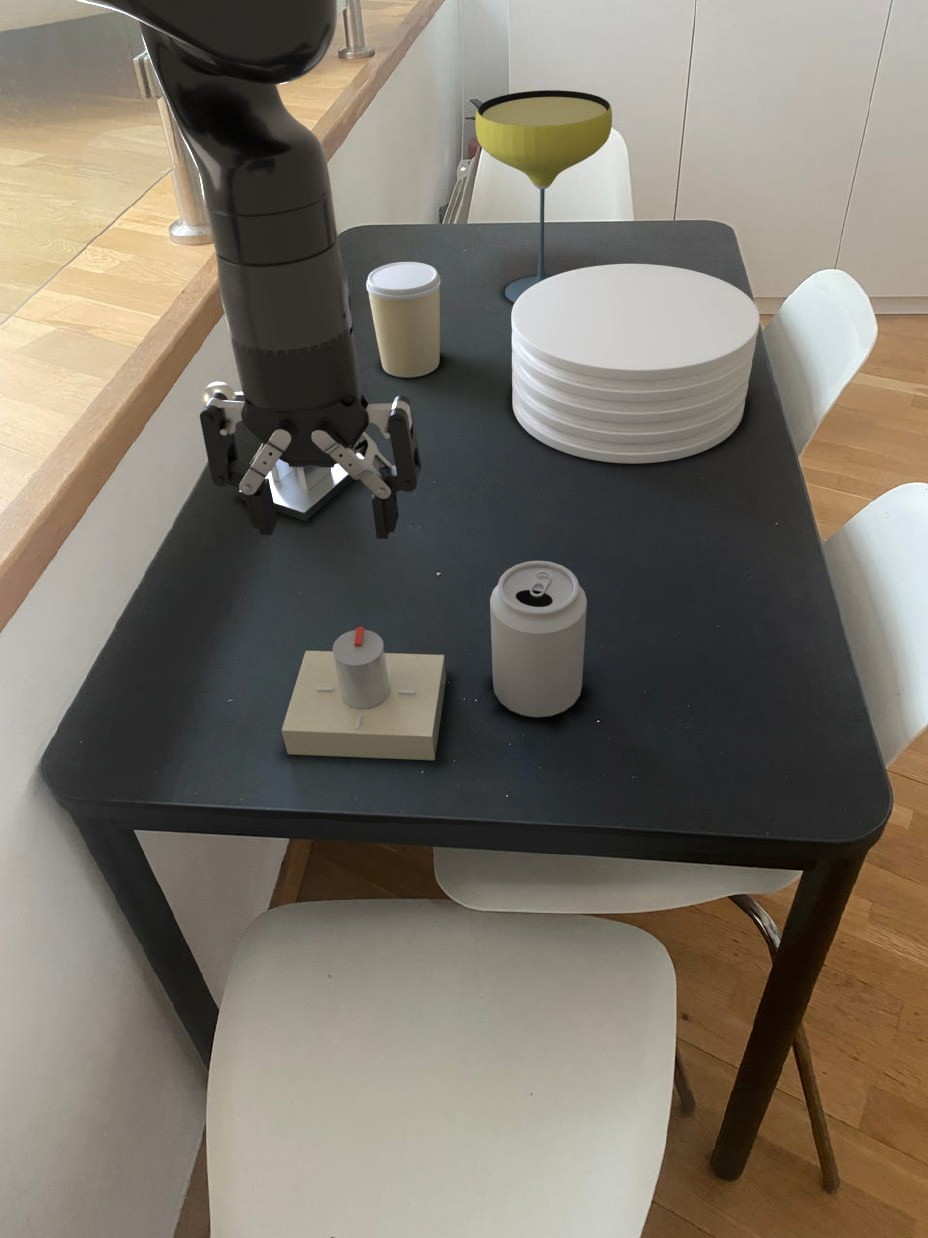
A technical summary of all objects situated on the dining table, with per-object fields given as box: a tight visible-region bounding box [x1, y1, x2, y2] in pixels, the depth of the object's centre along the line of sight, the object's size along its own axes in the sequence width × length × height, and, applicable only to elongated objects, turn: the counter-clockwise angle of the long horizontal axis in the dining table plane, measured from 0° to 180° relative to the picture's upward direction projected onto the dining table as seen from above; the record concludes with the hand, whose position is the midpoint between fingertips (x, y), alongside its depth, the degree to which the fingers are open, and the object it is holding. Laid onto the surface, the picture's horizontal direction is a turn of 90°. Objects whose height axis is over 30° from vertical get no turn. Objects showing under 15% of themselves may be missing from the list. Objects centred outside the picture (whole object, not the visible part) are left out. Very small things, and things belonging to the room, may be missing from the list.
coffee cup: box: [365, 261, 441, 378], centre depth 119 cm, size 9×9×12 cm
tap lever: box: [201, 381, 245, 408], centre depth 91 cm, size 13×3×3 cm, turn 150°
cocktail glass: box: [474, 89, 613, 304], centre depth 129 cm, size 18×18×25 cm
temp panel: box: [281, 650, 447, 761], centre depth 76 cm, size 12×9×3 cm
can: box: [489, 560, 588, 718], centre depth 74 cm, size 8×8×12 cm
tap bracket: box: [238, 459, 355, 522], centre depth 99 cm, size 11×9×13 cm
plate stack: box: [510, 263, 761, 465], centre depth 109 cm, size 28×28×12 cm
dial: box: [332, 626, 390, 709], centre depth 73 cm, size 4×4×5 cm
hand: (327, 530), depth 67 cm, fingers open, 8 cm apart
